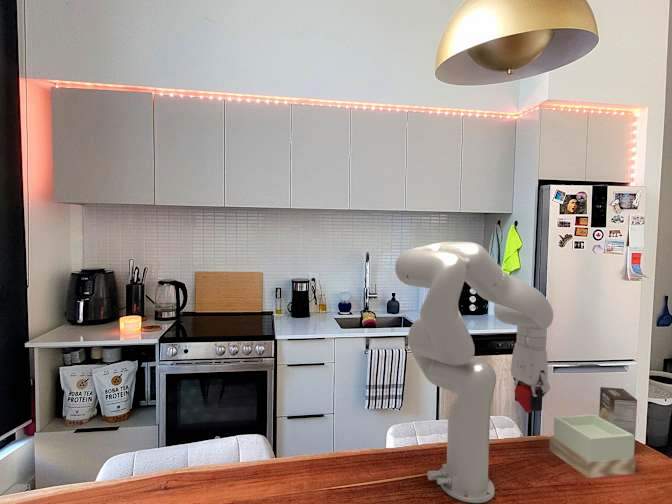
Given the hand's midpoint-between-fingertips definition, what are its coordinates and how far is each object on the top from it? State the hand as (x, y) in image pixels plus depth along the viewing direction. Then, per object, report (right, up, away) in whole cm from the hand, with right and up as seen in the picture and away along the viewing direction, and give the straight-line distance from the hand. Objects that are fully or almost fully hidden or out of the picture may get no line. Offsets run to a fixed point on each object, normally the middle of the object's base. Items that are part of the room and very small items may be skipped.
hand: (527, 404), depth 114 cm
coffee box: (+29, -15, +6) cm, 33 cm away
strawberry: (0, -2, 0) cm, 2 cm away
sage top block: (+16, -11, -3) cm, 19 cm away
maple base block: (+16, -15, -2) cm, 22 cm away
